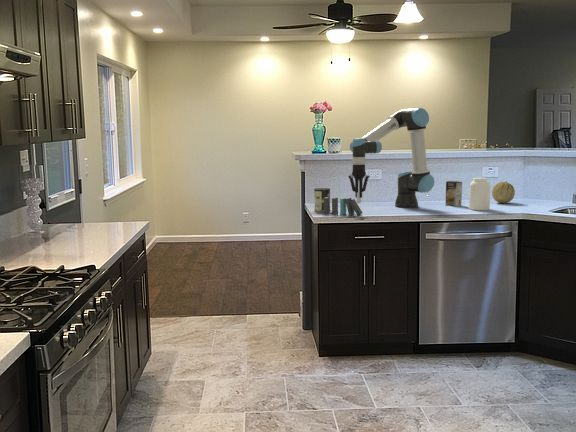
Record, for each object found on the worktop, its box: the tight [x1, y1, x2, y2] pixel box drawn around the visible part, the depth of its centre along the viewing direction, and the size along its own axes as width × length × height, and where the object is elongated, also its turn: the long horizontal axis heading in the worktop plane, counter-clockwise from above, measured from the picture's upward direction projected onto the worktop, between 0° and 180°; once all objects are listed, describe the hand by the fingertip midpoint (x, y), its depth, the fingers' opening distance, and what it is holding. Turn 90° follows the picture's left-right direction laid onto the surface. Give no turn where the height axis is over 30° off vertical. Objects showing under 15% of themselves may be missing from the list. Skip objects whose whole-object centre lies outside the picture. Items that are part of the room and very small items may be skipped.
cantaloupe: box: [491, 180, 516, 204], centre depth 416 cm, size 15×15×15 cm
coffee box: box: [445, 180, 463, 207], centre depth 409 cm, size 9×6×16 cm
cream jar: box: [468, 177, 491, 211], centre depth 387 cm, size 12×12×20 cm
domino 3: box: [345, 197, 356, 216], centre depth 373 cm, size 2×5×10 cm, turn 154°
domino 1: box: [323, 196, 331, 215], centre depth 380 cm, size 2×5×10 cm, turn 154°
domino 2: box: [331, 197, 339, 215], centre depth 377 cm, size 2×5×10 cm, turn 154°
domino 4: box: [349, 198, 363, 217], centre depth 372 cm, size 2×5×10 cm
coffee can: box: [313, 187, 331, 213], centre depth 394 cm, size 10×10×14 cm
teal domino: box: [339, 197, 347, 216], centre depth 375 cm, size 2×5×10 cm, turn 154°
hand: (358, 203), depth 370 cm, fingers closed
